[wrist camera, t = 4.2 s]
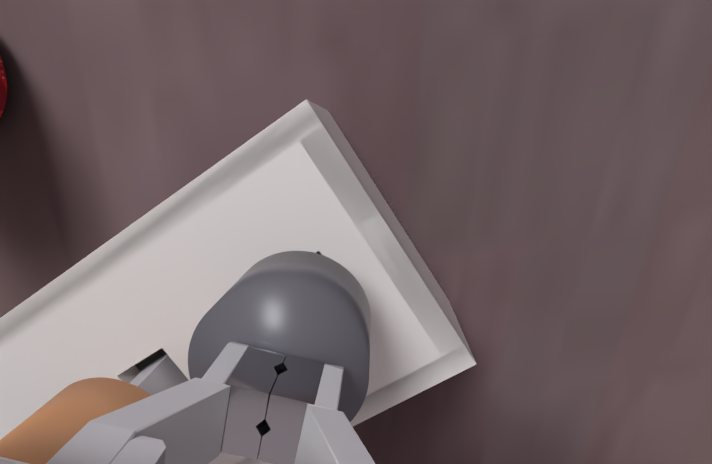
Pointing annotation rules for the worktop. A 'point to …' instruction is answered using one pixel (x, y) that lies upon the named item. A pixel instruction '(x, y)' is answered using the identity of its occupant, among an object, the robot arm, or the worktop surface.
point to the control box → (235, 275)
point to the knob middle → (83, 410)
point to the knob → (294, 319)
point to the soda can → (2, 87)
